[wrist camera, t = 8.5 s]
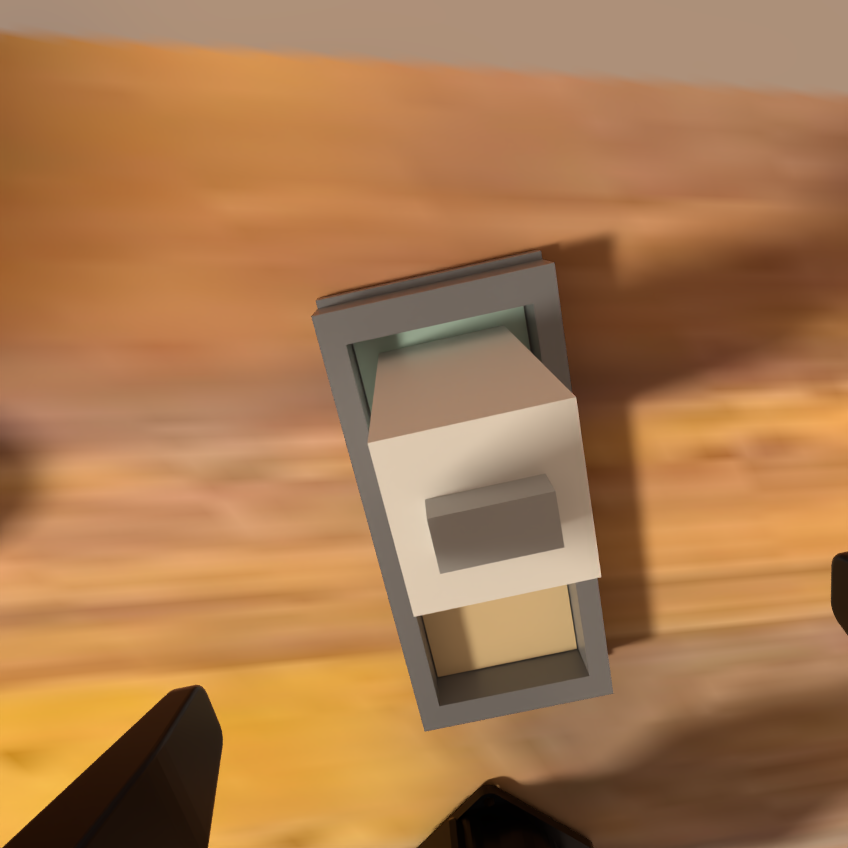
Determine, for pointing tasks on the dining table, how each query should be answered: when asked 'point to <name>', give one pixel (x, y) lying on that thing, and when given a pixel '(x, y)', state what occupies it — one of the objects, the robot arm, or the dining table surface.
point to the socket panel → (422, 635)
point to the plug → (480, 471)
